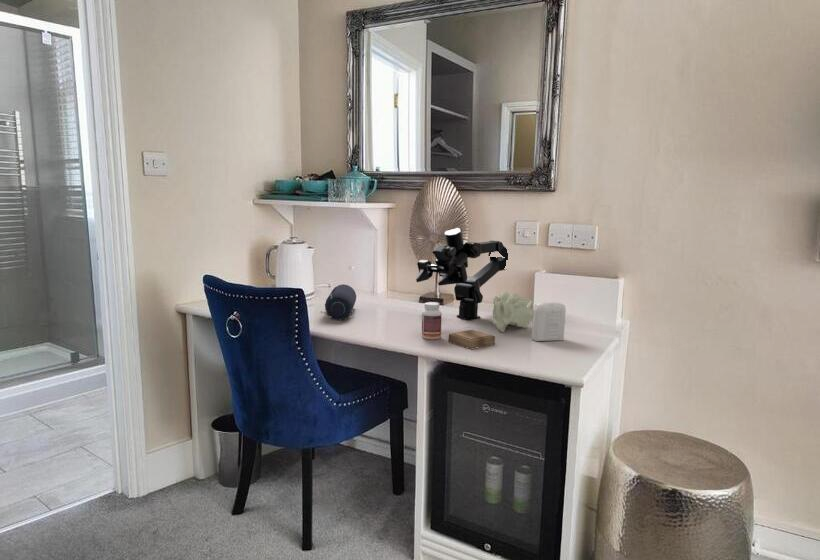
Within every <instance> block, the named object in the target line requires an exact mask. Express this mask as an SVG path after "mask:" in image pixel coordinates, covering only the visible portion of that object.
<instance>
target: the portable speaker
mask: <svg viewBox="0 0 820 560" xmlns="http://www.w3.org/2000/svg"><path fill="white" fill-rule="evenodd" d="M356 301H357V294H356V291H355V289H354V288H353V287H352V286H350V285H348V284H345V283H344V284H339V285H337V286H335V287H334V288H333V289H332V290H331V292H330V294H328V297H327V298H326V299H325V303H324V308H325V312H326V314H327V315H328V317H330V318H332V319H333V320H337V321H340V320H341V321H342V320H345V319H347V318H348V317H349V316H350V315H351V314H352V312H353V310H354V308H355V307H354V306H355V304H356Z"/></svg>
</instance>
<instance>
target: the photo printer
mask: <svg viewBox="0 0 820 560" xmlns="http://www.w3.org/2000/svg"><path fill="white" fill-rule="evenodd" d="M533 310H534V313H533V318H532V328H531V329H532V330H531V339H532V340H533V341H535V342H541V341H542V342H544V341H546V342H548V341H549V342H550V341H564V337H565V323H566V305H565V304H563V303H562V302H558V301H548V300H547V301H543V302H539V303H536V304H535V305H534V307H533Z"/></svg>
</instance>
